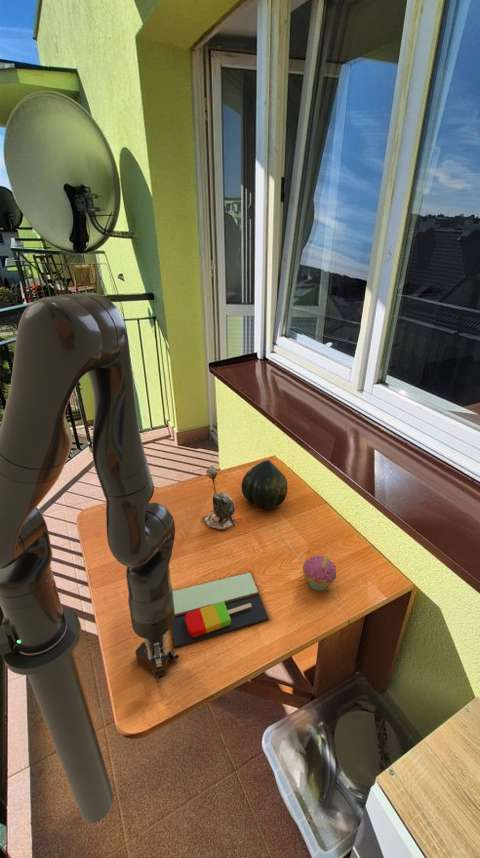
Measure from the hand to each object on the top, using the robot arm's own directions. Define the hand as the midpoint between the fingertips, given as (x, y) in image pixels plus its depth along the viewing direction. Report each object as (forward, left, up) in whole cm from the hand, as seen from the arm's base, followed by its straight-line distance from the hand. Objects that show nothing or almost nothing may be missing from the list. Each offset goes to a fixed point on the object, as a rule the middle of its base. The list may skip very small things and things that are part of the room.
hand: (158, 661), depth 75 cm
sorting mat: (+14, +9, -1) cm, 17 cm away
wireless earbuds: (0, 0, -1) cm, 1 cm away
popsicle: (+14, +6, 0) cm, 15 cm away
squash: (+38, +44, -1) cm, 58 cm away
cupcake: (+40, +8, -1) cm, 41 cm away
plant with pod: (+22, +37, -1) cm, 43 cm away
